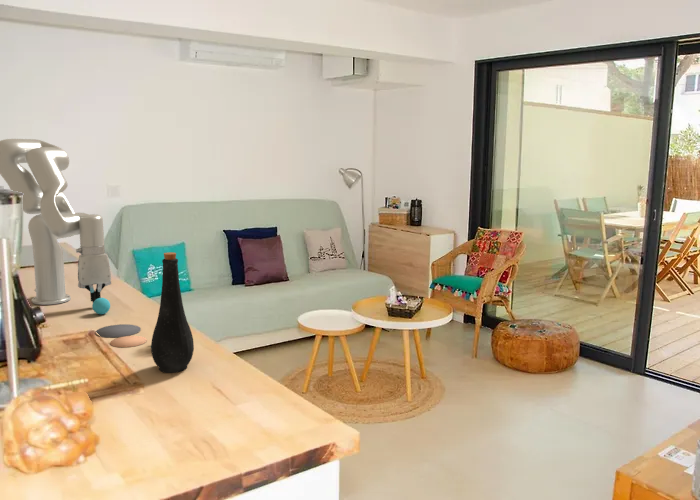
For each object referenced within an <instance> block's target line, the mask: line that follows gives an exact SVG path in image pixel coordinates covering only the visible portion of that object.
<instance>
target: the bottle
mask: <svg viewBox="0 0 700 500" xmlns="http://www.w3.org/2000/svg"><path fill="white" fill-rule="evenodd" d="M161 263H162V280H161V281H162V283H161V295H160V301H159V302H160V303H159V310H158V314H157V315H158V317H157V320H156V324H155V326H154V330H153V334H152V337H151V344H150V352H151V356H152V360H153V362H154V364H155V365H156V366H157V367H158V371H159V372H162V373H164V374H165V373H166V374H175V373H180V372H184V371H186V370H187V369H188V365H189V364H190V363H191V360H192V358H193V355H194V349H195V345H194V343H195V342H194V336H193V333H192V330H191V327H190V324H189V322H188V319H187V316H186V312H185V309H184V304H183V297H182V293H181V292H182V291H181V285H180V277H179V275H180V274H179V265H178V264H179V259H178V258H177V253H176V252H174V251H173V252H171V251H169V252H163V259H162V260H161Z"/></svg>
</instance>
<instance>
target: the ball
mask: <svg viewBox="0 0 700 500" xmlns="http://www.w3.org/2000/svg"><path fill="white" fill-rule="evenodd" d="M91 307H92V311H93V312H94V313H95V314H97V315H104V314H107V313H108V312H109V311H110V309H111V302H110V300H108V299H107V298H105V297H101V298H98V299H96V300H95V301H94V302H92V305H91Z"/></svg>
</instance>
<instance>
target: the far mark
mask: <svg viewBox="0 0 700 500" xmlns="http://www.w3.org/2000/svg"><path fill="white" fill-rule="evenodd" d="M147 341H148V339H147V338H146V337H144V336H140V335H130V336H125V337H117V338H114V339H112V340H111V341H110V342H109V344H110V345H111V346H112V347H115V348H132V347H133V348H134V347H138V346H141V345H143V344H145V343H147Z"/></svg>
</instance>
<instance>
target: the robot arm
mask: <svg viewBox="0 0 700 500" xmlns="http://www.w3.org/2000/svg"><path fill="white" fill-rule="evenodd" d="M21 164H27V165H28V168H29V169H30V171H31V172H30V171H29V170H28V169H26V168H25V167H23V166H22V165H21ZM69 166H70V159H69V155H68V153H67V152H66V151H65V150H64V149H63V148H62V147H59V146H57V145H55V144H51V143H49V142H46V141H44V140H42V139H33V138H5V139H1V140H0V176H1V177H2V178H3V180H4V182H5V183H6V184H7V186H8V188H9V189H10V191H11V190H13V191H18V192H22V193H24V195H23V210H22V211H23V212H24V213H26V214H28V215H35V216H33V217H32V218H30V219H29V222H28V225H27V228H28V234H29V237H30V240H31V246H32V253H33V254H32V255H33V267H34V281H35V282H34V283H35V284H34V285H35V288H34V290H33V291H34V292H35V296H34V297H32V298H31V303H32V304H34V305H38V306H39V305H40V306H41V305H44V306H47V305H57V304H62V303H66V302H69V301H70V300H71V295H70V294H68V293H66V292H67V291H66V279H65V278H66V277H65V276H66V275H65V262H64V261H65V260H64V252H63V251H64V250H63V248H62V246H61V244H60V243H59V242H58V240H59V239H64V238H65V239H66V238H70V237H73V236H79V241H80V245H79V248H76V249H75V252H76V253H77V254H80V255H78V261H77V282H78V283H77V287H78V289H86V290H87V291H89V292H90V293H89V294H90V302H92V303H93V302H94V301H95V300H96V299H98V298H102V297H101V296H102V295H101V292H102V290H103V289H104V288H105V287H107V286H110V285H112V281H111V280H112V273H111V272H112V271H111V265H110V259H109V255H108V253H105V238H104V237H105V236H104V220H103V216H102V215H100V214H95V213H94V214H88V213H85V212H75V211H74V209H73V207H72V206H71V204H70V202H69V200H68V199H67V198H68V197H66V195H65V193H64V191H66V189H67V188H68V182H67V180H66V178H65V176H64V175H63V172H64V171H65V170H66V169H68V167H69ZM62 171H63V172H62ZM94 285H96V287H95V289H94Z"/></svg>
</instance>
